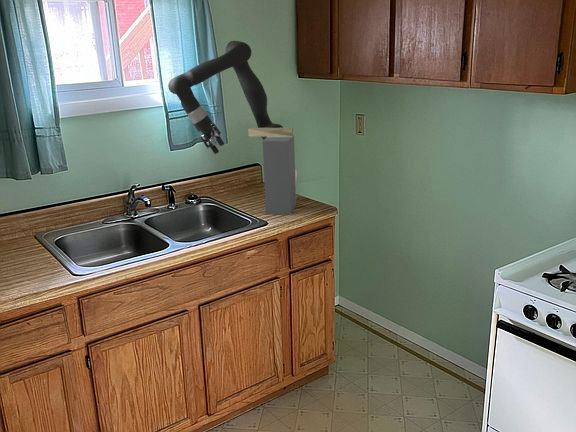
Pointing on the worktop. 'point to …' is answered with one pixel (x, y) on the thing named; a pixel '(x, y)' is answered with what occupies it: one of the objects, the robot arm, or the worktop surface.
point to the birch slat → (270, 131)
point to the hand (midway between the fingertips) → (219, 149)
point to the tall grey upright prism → (279, 174)
